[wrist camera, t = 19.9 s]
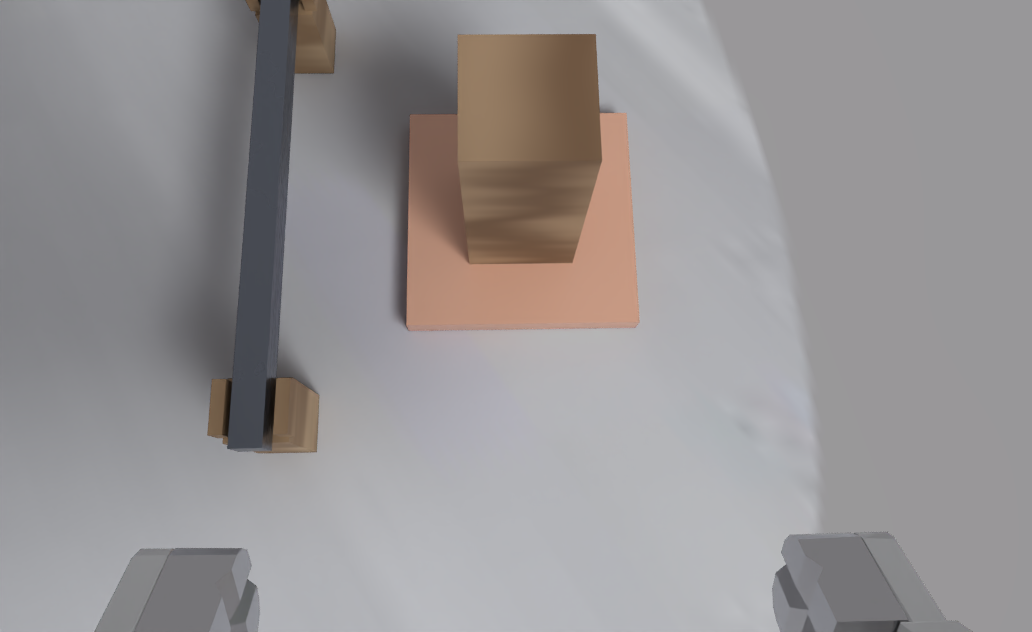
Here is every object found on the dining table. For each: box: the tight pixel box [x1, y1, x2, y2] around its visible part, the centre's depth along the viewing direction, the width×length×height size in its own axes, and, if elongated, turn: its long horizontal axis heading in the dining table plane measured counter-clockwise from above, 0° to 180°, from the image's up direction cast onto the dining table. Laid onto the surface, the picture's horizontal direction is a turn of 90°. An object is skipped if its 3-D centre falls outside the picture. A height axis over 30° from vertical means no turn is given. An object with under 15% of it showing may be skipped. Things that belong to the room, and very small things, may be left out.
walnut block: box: [458, 34, 602, 264], centre depth 29 cm, size 4×4×10 cm
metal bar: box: [227, 0, 299, 452], centre depth 30 cm, size 1×21×1 cm, turn 1°
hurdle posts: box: [207, 0, 336, 453], centre depth 32 cm, size 3×20×5 cm, turn 1°
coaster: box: [406, 113, 640, 331], centre depth 35 cm, size 10×10×1 cm
